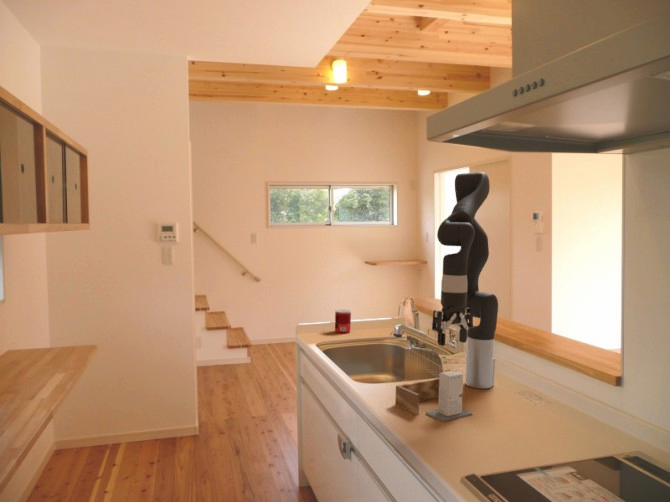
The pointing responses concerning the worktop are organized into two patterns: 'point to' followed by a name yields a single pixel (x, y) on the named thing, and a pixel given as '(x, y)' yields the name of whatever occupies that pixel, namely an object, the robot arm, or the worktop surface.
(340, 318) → the canned food
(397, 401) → the brown wooden u-shaped piece
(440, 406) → the skincare box
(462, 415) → the grey mat
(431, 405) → the worktop surface
